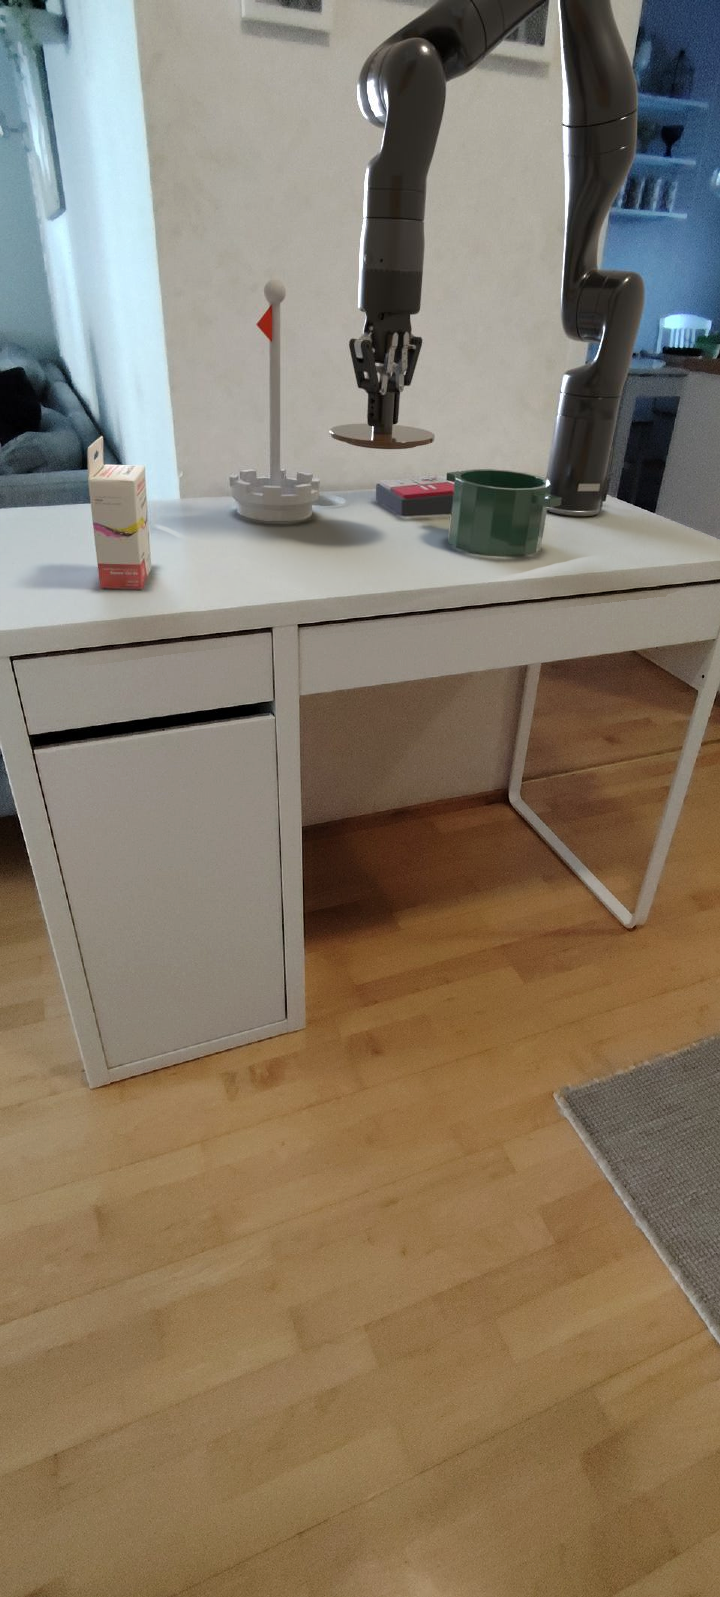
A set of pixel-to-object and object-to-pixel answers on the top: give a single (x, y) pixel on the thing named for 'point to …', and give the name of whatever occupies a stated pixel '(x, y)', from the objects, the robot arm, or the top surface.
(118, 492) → the ink cartridge box
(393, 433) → the lid
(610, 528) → the top surface
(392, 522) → the top surface
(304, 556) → the top surface
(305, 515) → the flag stand
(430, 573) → the top surface
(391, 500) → the grey red flat block
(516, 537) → the pot
